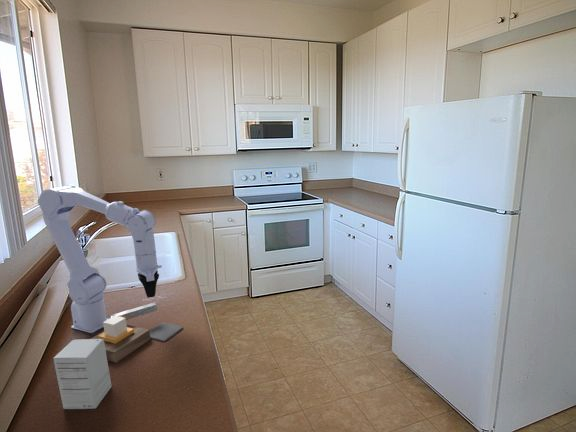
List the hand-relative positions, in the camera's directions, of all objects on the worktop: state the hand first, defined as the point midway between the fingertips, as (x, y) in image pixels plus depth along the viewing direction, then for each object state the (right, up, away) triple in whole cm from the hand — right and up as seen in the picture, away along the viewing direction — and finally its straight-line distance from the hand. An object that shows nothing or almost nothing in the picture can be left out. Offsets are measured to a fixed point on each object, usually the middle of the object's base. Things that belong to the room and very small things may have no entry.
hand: (150, 295), depth 110 cm
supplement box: (-4, -17, -28) cm, 33 cm away
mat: (+4, -11, -1) cm, 12 cm away
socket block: (-6, -13, -7) cm, 16 cm away
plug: (-6, -13, -7) cm, 16 cm away
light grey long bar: (-5, -8, 0) cm, 9 cm away
